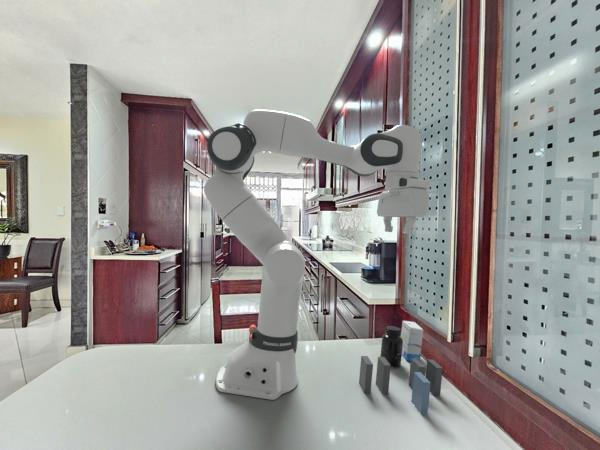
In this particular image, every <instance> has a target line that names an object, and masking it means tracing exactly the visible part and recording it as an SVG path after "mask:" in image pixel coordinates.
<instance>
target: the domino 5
mask: <svg viewBox="0 0 600 450" xmlns="http://www.w3.org/2000/svg"><path fill="white" fill-rule="evenodd" d="M425 377H426V378H427V379H428V381H429V382H430V393H431V395H433V397H441V391H442V378H443V366H441V365H440V364H438V362H437V361H435V360H434V359H428V358H427V360H426V366H425Z"/></svg>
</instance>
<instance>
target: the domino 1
mask: <svg viewBox="0 0 600 450" xmlns="http://www.w3.org/2000/svg"><path fill="white" fill-rule="evenodd" d="M359 368H360V369H359V379H358V384H359V386H360V388H361V391H362V392H363V394H371V391H372V384H373V383H372V382H373V381H372V380H373V370H374V363H373V362H372V361H371V359H370V358H369V356H368V355H361V356H360V367H359Z"/></svg>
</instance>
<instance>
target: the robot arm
mask: <svg viewBox="0 0 600 450" xmlns="http://www.w3.org/2000/svg"><path fill="white" fill-rule="evenodd" d="M421 137H422V136H421V133H420V130H419V129H417V128H416V127H414V126H412V125H408V124H399V125H398V124H397V125H395V126H394V127H393V128H391V129H389V130H387V131H383V132H378V133H372V134H369V135H367V136H366V137H365V138H363V140H361V141H360V142H359V143H358V144H356V145H346V144H343V143H339V142H335V141H331V140H328V139H326V138H323V137H322V136H321V135H320V133H319V132H318V131H317V129H316V127H315V126H314V124H313V122H312V121H311V120H310V119H307V118H305V117H303V116H301V115H297V114H294V113H291V112H290V113H289V112H285V111H277V110H271V109H270V110H269V109H253V110H251V111H249V112H248V113H247V114H246V116H245V118H244V119H243V123H241V122H240V123H235V124H233V125H232V124H231V125H228V126H223V127H220V128H218V129H216V130H215V131H213V132H212V133H211V134H210V135H209V138H208V140H207V144H206V146H207V147H206V150H207V154H208V157H209V159H210V161H211V163H212V164H213V165H215V171H214V173H213V175H211V176H210V177H209V178H207V180H206V182H205V184H204V187H203V192H204V196H205V197H206V199H207V200H208V202H209V204H210V205H211V207H212V208H213V210H214V211H215V213H216V214H217V215H218V217H219V218H220V219H221V221H222V222H223V223H224V224H225V225H226V227H227V228H228V229H229V230H230V231H231V232H232V234H234V236H235V237H236V239H238V241H239V242H240V243H241V244H242V245H243V246H244V247H245V248H246V249H248V251H249V252H250V253H251V254H252V255H253V256H254V257H255V258H256V259H257V260H258V261H259V263H260V264H261V265H262V272H261V273H262V276H261V285H260V287H261V288H260V295H259V308H258V319H257V326H256V324H251V325H250V326H249V327H248V328H249V329H248V331H249V336H248V339H249V340H247V341H246V342H245V343H243V344H241V345H240V346H237V347H236V348H235V349H233V350H232V351H231V352H230V354H229V357H228V359H227V361H226V363H225V364H223V365H222V366H221V367H220V369H219V370H218V373H217V374H216V378H215V387H216V389H217V390H218V392H220V393H227V394H231V395H232V394H233V395H238V396H239V395H240V396H245V397H246V396H247V397H253V398H258V399H264V400H265V399H266V400H271V401H273V400H277V399H278V398H280V397H281V395H283V394H286V393H288V392H291V391H293V390H294V389H295V388H296V387H297V386H298V383H299V378H298V374H297V366H296V365H297V363H296V353H297V349H298V343H299V331H298V320H299V310H300V300H301V296H302V291H303V285H304V278H305V271H306V258H305V256H304V254H303V252H302V251H301V250H300V249H299V248H298V247H297V246H296V245H295V244H294V242H293V241H292V240H291V239H290V237H288V235H287V234H286V233H285V232H284V230H283V229H282V228H281V226H280V225H279V224H278V223H277V222H276V220H275V219H274V218H273V217H272V215H271V214H270V213H269V212H268V211H267V210H266V208H265V207H264V206H263V204H262V203H261V201H259V200H258V198H257V197H256V196H255V195H254V194H253V193H252V192H251V190H250V189H249V187H248V186H247V184H245V182H244V180H245V178H247V176H248V174H249V173H250V172H251V170H252V168H253V167H254V163H255V155H256V154H258V153H261V152H270V153H275V154H280V155H284V156H290V157H295V158H296V157H297V158H305V159H312V160H313V159H314V160H318V161H322V162H325V163H328V164H333V165H337V166H342V167H344V168H346V169H348V170H349V171H350V172H351V173H353V174H354V175H356V176H359V177H369V176H371V175H373V174H375V173H376V172H377V171H379V170H385V171H386V173H385V174H386V175H385V185H384V186H385V187H384V189H383V190H382V191H381V193H380V194H379V197H378V201H377V210H376V213H377V217H382V218H383V223H384V232H387V233H393V228H394V226H393V225H392V221H393V218H405V224H404V226H403V227H402V233H403V234H406V235H411V234H412V231H413V227H414V225H415V223H416V219H417V218H424V217H425V216H426V215H427V213H428V210H429V200H430V193H429V189H430V188H431V181H430V180H428V179H423V178H421V177H420V171H419V165H420V161H421V155H422V138H421Z"/></svg>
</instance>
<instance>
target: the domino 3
mask: <svg viewBox="0 0 600 450" xmlns="http://www.w3.org/2000/svg"><path fill="white" fill-rule="evenodd" d="M414 372H421V373H422V374H423V375H424V376H425V377H426V366H425V365H424V364H423V363H422V362H421V360H420V361H419V360H418V359H413V358H411V361H410V366H409V376H408V387H410V389H411V390H412V389H413V379H414Z"/></svg>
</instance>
